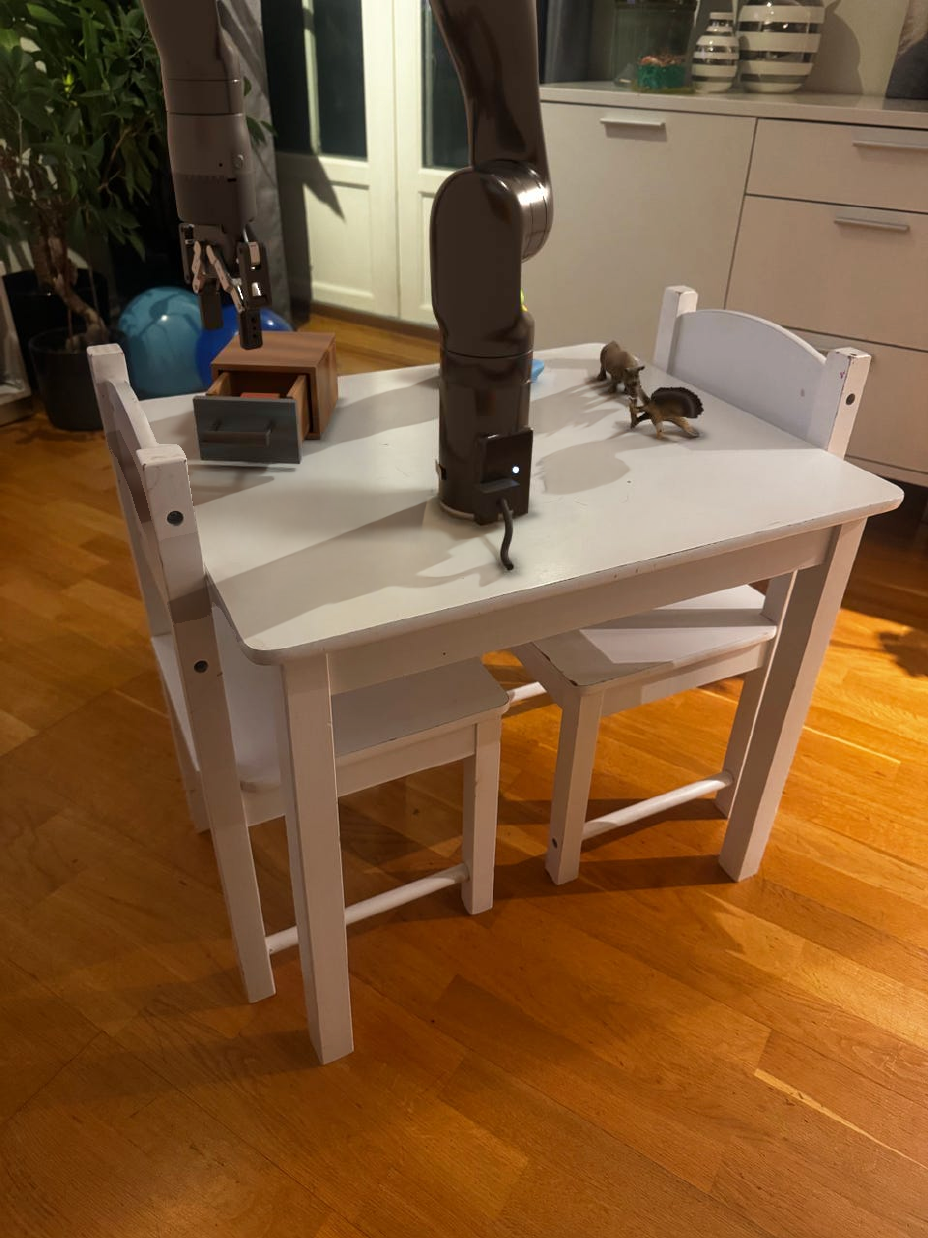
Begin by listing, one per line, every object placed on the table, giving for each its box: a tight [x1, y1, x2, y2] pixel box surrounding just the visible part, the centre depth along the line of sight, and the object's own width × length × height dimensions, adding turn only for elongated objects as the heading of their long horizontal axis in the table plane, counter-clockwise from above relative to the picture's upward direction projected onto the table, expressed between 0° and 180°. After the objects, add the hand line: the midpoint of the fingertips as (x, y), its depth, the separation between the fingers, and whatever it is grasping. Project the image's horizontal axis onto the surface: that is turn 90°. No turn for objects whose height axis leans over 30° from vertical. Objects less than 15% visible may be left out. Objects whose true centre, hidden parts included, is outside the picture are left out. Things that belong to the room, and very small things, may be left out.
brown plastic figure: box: [628, 386, 705, 440], centre depth 117 cm, size 8×7×9 cm
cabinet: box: [210, 330, 340, 440], centre depth 117 cm, size 15×13×9 cm
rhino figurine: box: [597, 340, 646, 399], centre depth 130 cm, size 4×14×6 cm, turn 10°
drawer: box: [192, 370, 313, 465], centre depth 106 cm, size 19×11×7 cm, turn 178°
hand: (232, 338), depth 96 cm, fingers open, 8 cm apart
